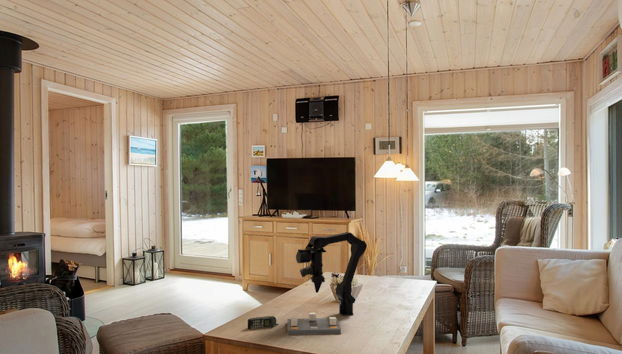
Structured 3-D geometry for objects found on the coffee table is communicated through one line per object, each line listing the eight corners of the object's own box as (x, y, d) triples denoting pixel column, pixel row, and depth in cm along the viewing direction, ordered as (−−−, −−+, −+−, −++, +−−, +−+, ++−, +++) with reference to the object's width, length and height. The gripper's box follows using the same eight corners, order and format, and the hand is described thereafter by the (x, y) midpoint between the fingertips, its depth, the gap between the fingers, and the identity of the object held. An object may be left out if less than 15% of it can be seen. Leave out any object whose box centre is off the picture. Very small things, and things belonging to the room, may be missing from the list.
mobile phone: (248, 319, 198) (279, 316, 203) (246, 317, 201) (277, 314, 206) (248, 330, 198) (279, 326, 203) (247, 328, 201) (278, 324, 206)
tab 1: (297, 324, 199) (297, 317, 199) (297, 325, 197) (297, 319, 197) (290, 324, 199) (290, 317, 199) (290, 325, 197) (291, 319, 197)
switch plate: (336, 322, 209) (336, 317, 209) (340, 333, 193) (340, 329, 193) (287, 322, 208) (287, 318, 208) (287, 334, 192) (287, 330, 192)
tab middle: (315, 318, 207) (315, 312, 207) (315, 320, 205) (315, 314, 205) (309, 319, 207) (309, 312, 207) (309, 320, 204) (309, 314, 204)
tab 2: (335, 323, 200) (335, 316, 201) (336, 325, 198) (336, 318, 198) (329, 323, 200) (329, 317, 200) (329, 325, 198) (329, 318, 198)
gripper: (299, 258, 224) (300, 288, 224) (301, 265, 206) (302, 298, 206) (320, 258, 225) (321, 287, 225) (324, 265, 207) (324, 297, 207)
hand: (316, 292), depth 216 cm, fingers closed
